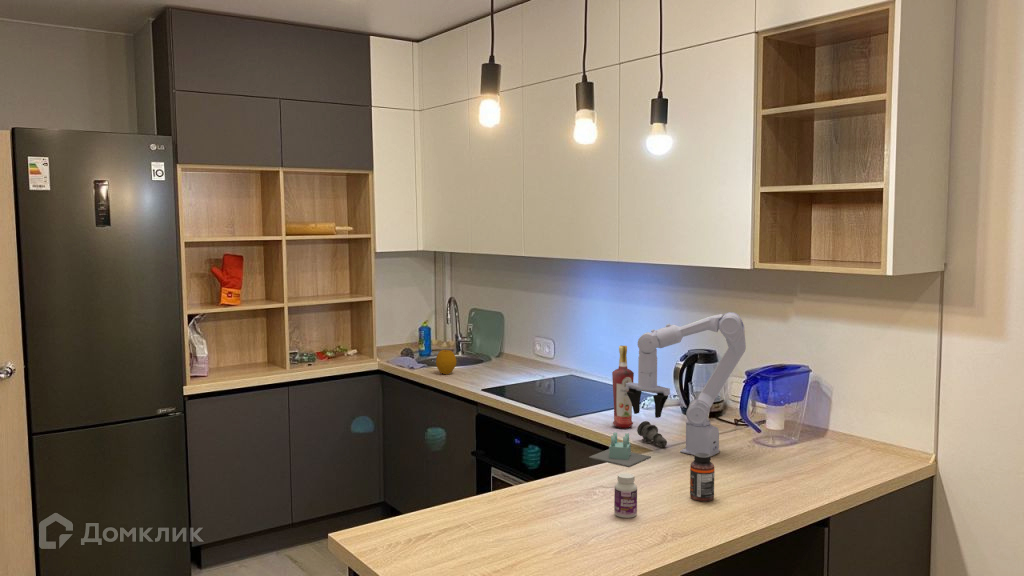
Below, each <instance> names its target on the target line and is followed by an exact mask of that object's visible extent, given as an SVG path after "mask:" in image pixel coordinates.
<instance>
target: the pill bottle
mask: <svg viewBox="0 0 1024 576" xmlns="http://www.w3.org/2000/svg"><path fill="white" fill-rule="evenodd" d="M616 481H617V482H616V483H615V485H614V494H613V495H614V498H613V500H614V501H613V502H614V507H613V508H614V509H613V510H614V516H616V517H618V518H624V519H631V518H635V517H636V516H637V513H638V486H637V484H636V483H635V475H634V474H633V473H629V472H620V473H618V474H617V480H616Z"/></svg>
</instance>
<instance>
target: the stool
mask: <svg viewBox="0 0 1024 576" xmlns="http://www.w3.org/2000/svg"><path fill="white" fill-rule="evenodd" d="M608 449H609V458H613V459H625V460H628V458H629V457H630V455H631V452H632V443H631V442H630V434H629V433H628V432H626V433H625V434H624V435H623V436H622V441H621V442H620V441H618V432H613V433H612V435H611V436H610V444H609V447H608Z"/></svg>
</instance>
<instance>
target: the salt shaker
mask: <svg viewBox="0 0 1024 576" xmlns="http://www.w3.org/2000/svg"><path fill="white" fill-rule="evenodd" d="M636 430H637V431H636V432H637V434H638V435H639V436H640V437H642V439H643V440H644V441H645V442H647V443H650V442H652V443H653V444H655V445H658V446H659V447H661V448H664V447H666V446H667V443H668V440H667V439H666V438H665V437H663V435H662V434H661V433H659V428H658V426H656V424H651V423H650V421H648V420H645V421H644V420H643V421H642V422H641V423H640V424H638V427H637V429H636Z"/></svg>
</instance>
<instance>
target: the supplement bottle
mask: <svg viewBox="0 0 1024 576" xmlns="http://www.w3.org/2000/svg"><path fill="white" fill-rule="evenodd" d="M711 457H712V456H710V454H708V453H695V454H694V455H693V461H691V463H690V466H689V467H690V469H689V470H690V471H689V473H690V475H689V478H690V479H689V494H690V495H689V496H690V498H691V499H693V500H694V501H697V502H710V501H712V500H713V499H714V497H715V464H714V463H713V462H711V460H712V459H711Z"/></svg>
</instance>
